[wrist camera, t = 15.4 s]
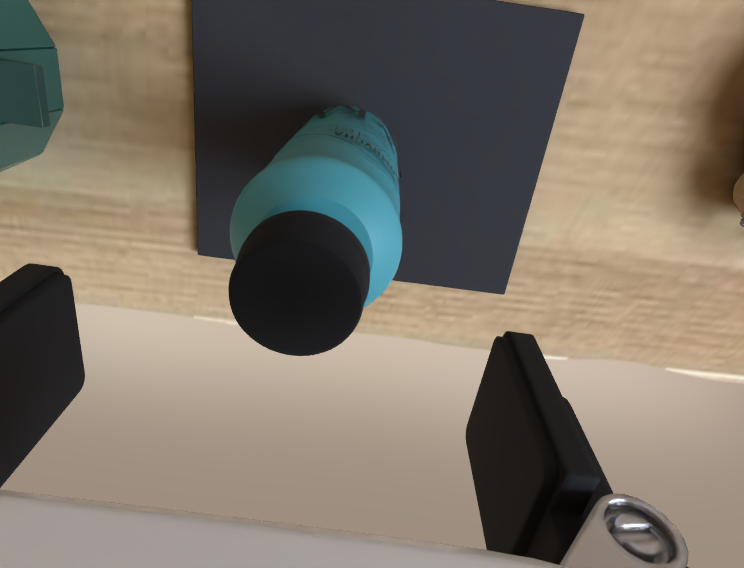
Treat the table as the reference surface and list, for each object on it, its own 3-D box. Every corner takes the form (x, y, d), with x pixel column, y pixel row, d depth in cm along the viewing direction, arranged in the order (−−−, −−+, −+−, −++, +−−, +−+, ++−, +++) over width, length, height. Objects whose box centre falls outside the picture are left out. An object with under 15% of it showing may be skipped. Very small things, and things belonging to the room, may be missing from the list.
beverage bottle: (377, 215, 34) (368, 424, 16) (282, 180, 33) (158, 361, 15) (415, 120, 31) (455, 245, 13) (312, 79, 30) (203, 153, 12)
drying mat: (193, -46, 28) (189, -47, 27) (581, 14, 29) (585, 14, 28) (200, 252, 36) (197, 255, 35) (502, 291, 37) (504, 294, 36)
